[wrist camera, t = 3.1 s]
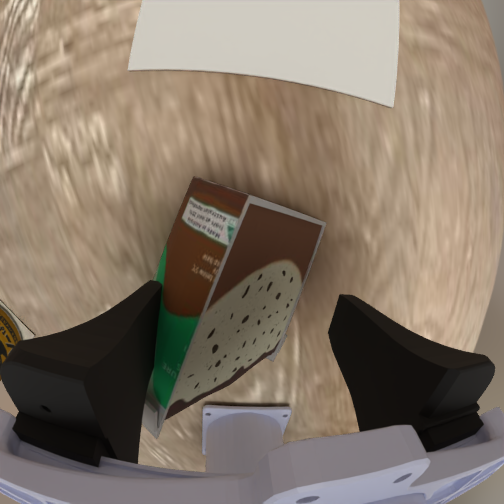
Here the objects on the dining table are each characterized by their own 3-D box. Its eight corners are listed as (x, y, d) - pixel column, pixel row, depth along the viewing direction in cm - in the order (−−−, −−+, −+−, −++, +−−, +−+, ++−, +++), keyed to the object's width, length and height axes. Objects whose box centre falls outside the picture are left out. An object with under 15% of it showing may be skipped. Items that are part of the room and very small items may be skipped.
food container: (104, 150, 10) (68, 357, 12) (220, 185, 8) (147, 444, 9) (252, 195, 21) (210, 319, 23) (332, 225, 18) (276, 359, 20)
